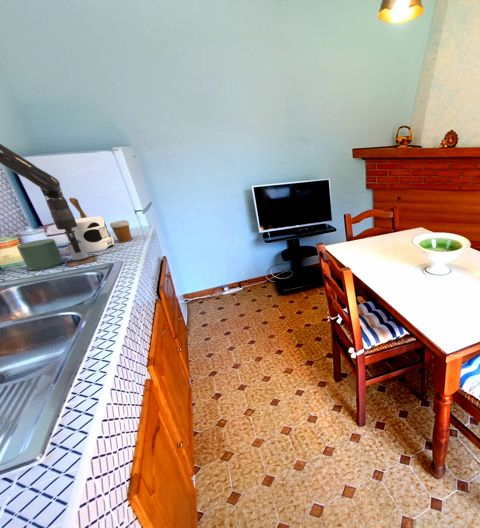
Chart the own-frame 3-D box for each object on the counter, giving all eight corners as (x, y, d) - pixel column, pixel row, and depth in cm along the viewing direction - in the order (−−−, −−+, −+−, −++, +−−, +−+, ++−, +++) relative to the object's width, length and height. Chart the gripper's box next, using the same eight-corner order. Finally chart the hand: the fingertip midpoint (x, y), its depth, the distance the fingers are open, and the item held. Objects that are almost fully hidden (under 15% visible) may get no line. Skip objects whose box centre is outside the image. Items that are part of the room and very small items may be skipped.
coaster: (68, 267, 145) (68, 266, 144) (67, 262, 152) (66, 261, 152) (97, 260, 152) (96, 259, 151) (94, 256, 159) (93, 255, 159)
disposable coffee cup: (114, 244, 178) (106, 225, 174) (118, 240, 186) (111, 221, 182) (132, 242, 181) (125, 222, 177) (136, 237, 190) (130, 219, 185)
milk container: (77, 251, 168) (63, 220, 162) (114, 244, 179) (103, 214, 172) (77, 259, 156) (63, 225, 149) (117, 250, 166) (105, 218, 160)
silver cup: (73, 260, 147) (66, 245, 144) (72, 258, 151) (65, 243, 148) (88, 257, 151) (82, 242, 148) (87, 254, 155) (81, 240, 152)
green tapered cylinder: (27, 273, 140) (14, 249, 135) (27, 266, 149) (16, 244, 144) (66, 264, 149) (56, 241, 144) (64, 258, 158) (54, 237, 153)
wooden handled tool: (89, 247, 175) (69, 199, 165) (86, 241, 188) (67, 196, 178) (103, 244, 180) (85, 197, 169) (99, 238, 193) (82, 195, 182)
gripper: (52, 218, 146) (66, 250, 152) (53, 222, 136) (69, 256, 142) (72, 215, 151) (85, 246, 157) (75, 218, 141) (88, 252, 147)
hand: (77, 251), depth 150 cm, fingers closed on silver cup, 6 cm apart
